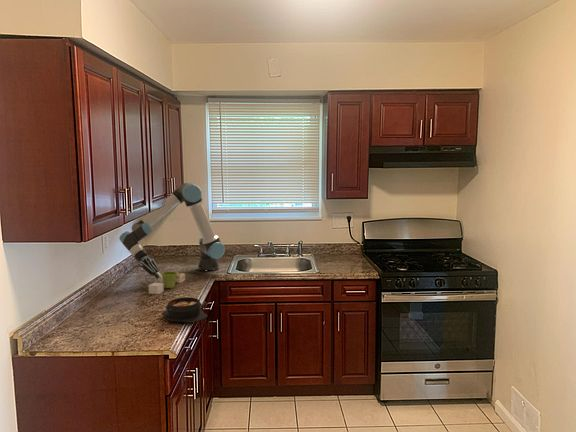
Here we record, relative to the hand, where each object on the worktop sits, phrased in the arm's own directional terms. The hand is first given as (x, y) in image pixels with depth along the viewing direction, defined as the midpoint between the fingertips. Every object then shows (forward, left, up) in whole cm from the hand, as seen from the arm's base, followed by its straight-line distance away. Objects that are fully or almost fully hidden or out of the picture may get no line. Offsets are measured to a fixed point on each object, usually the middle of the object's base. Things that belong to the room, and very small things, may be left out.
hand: (162, 281), depth 270 cm
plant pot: (+1, +4, -4) cm, 5 cm away
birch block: (-11, +7, -4) cm, 14 cm away
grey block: (+12, -1, -4) cm, 12 cm away
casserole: (+58, +25, -4) cm, 63 cm away
